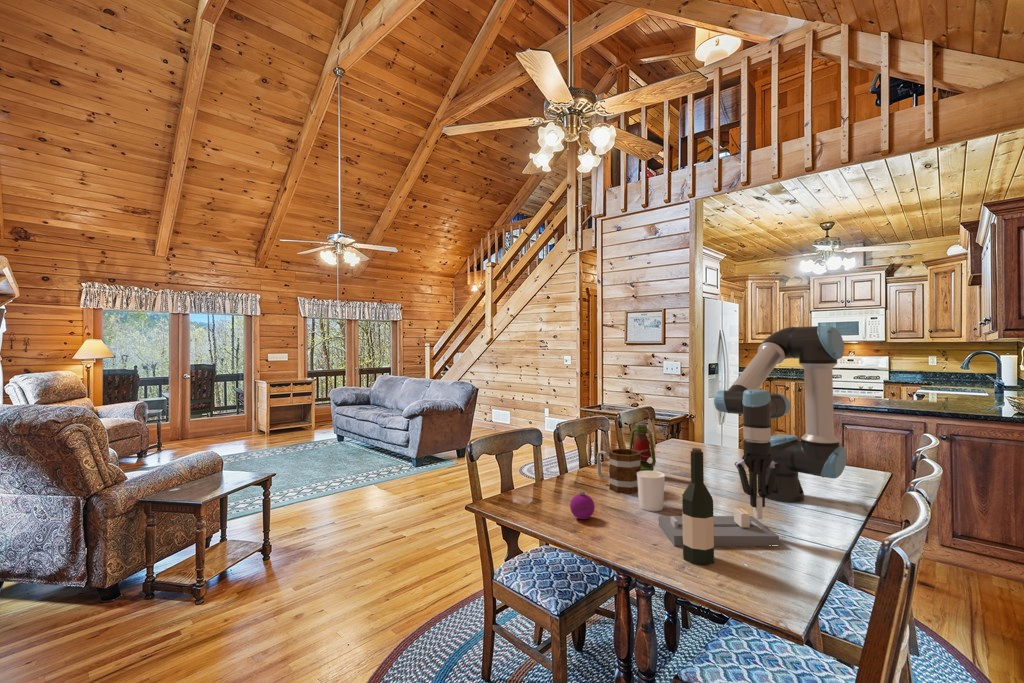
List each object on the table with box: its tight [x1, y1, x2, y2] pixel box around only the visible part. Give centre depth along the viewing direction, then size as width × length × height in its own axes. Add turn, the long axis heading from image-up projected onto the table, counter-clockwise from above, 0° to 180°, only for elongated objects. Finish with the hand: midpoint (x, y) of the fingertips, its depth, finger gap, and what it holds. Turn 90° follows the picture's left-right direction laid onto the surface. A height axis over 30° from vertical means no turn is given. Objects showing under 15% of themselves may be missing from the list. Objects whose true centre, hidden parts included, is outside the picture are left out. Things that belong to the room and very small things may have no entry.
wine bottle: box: [681, 447, 715, 567], centre depth 129 cm, size 8×8×30 cm
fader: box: [733, 507, 750, 527], centre depth 145 cm, size 2×5×4 cm, turn 178°
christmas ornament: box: [569, 488, 595, 520], centre depth 160 cm, size 8×8×10 cm
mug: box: [596, 447, 641, 495], centre depth 195 cm, size 20×14×15 cm
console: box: [658, 515, 780, 547], centre depth 145 cm, size 30×16×5 cm, turn 88°
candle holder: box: [637, 470, 666, 512], centre depth 170 cm, size 10×10×12 cm
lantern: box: [628, 407, 657, 471], centre depth 212 cm, size 14×11×30 cm
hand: (757, 517), depth 145 cm, fingers closed
